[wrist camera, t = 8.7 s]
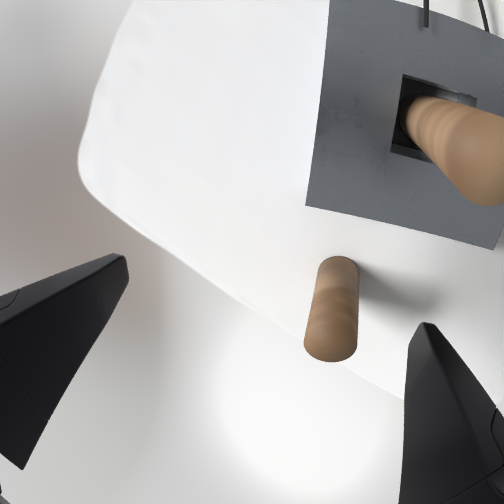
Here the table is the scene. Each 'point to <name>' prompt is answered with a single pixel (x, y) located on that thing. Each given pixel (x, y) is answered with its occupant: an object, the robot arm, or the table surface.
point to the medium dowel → (334, 311)
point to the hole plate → (385, 111)
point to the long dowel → (459, 144)
